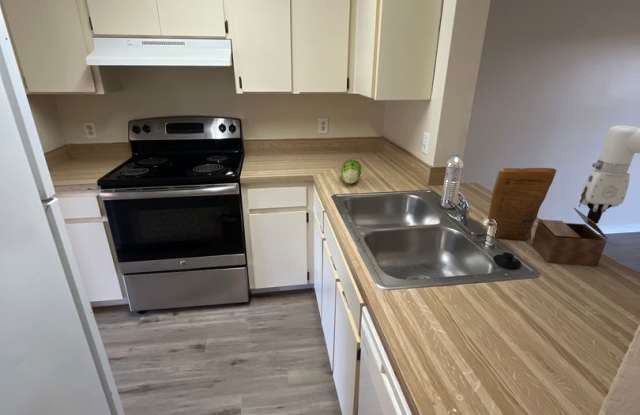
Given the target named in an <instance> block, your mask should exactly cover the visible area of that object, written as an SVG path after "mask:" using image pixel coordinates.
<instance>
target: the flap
mask: <svg viewBox="0 0 640 415" xmlns="http://www.w3.org/2000/svg"><path fill="white" fill-rule="evenodd" d="M573 209H574V211H575V212H576V213H577V214H578V216H579V217H580V218H581V219H582V221H583V222H584V224H586V225H587V226H588V227H590V228H591V229H592V230H593V231H595V232H596V233H597V234H599V235H600V236H601V237H603V238H604V239H605V240H608V237H607V236H606V234H605V233H604V232H603V231H602V229H601V228H600V227H599V226H598V225H597V223H595V222H593V221H592V220H590V219H589V218H588V217H587V215H585V214H584V213H583V212H581V211H580V210H579V209H577V208H576V207H573Z"/></svg>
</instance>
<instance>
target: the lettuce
mask: <svg viewBox="0 0 640 415" xmlns="http://www.w3.org/2000/svg"><path fill="white" fill-rule="evenodd" d="M340 175H341V178H342V180H343V181H344V182H345V183H346V184H350V185H351V184H355V183H356V182H358V180H359V179H360V177H361V176H362V165H361V163H360V162H359V161H358V160H356V159H354V158H353V159H352V158H351V159H347V160H345V161H344V162H343V163H342V165H341V168H340Z"/></svg>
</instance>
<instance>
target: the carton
mask: <svg viewBox="0 0 640 415" xmlns="http://www.w3.org/2000/svg"><path fill="white" fill-rule="evenodd" d="M607 243H608V240H607V239H606V238H605V237H603V236H602V235H601V234H599V233H598V232H597V231H595V230H594V229H593V228H591V227H590V226H589V225H588V224H586V223H573V222H565V221H563V220H556V219H555V220H554V219H539V220H538V222H537V224H536V229H535V232H534V235H533V238H532V241H531V246H532V247H533V248H534V249H535V251H536V252H537V253H538V254H539V255H540V257H542V258H543V260H544V261H545V262H546V263H547V264H548V263H550V264H561V265H573V266H574V265H575V266H587V267H598V265H599V262H600V260H601V257H602V254H603V252H604V250H605V247H606V244H607Z"/></svg>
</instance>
